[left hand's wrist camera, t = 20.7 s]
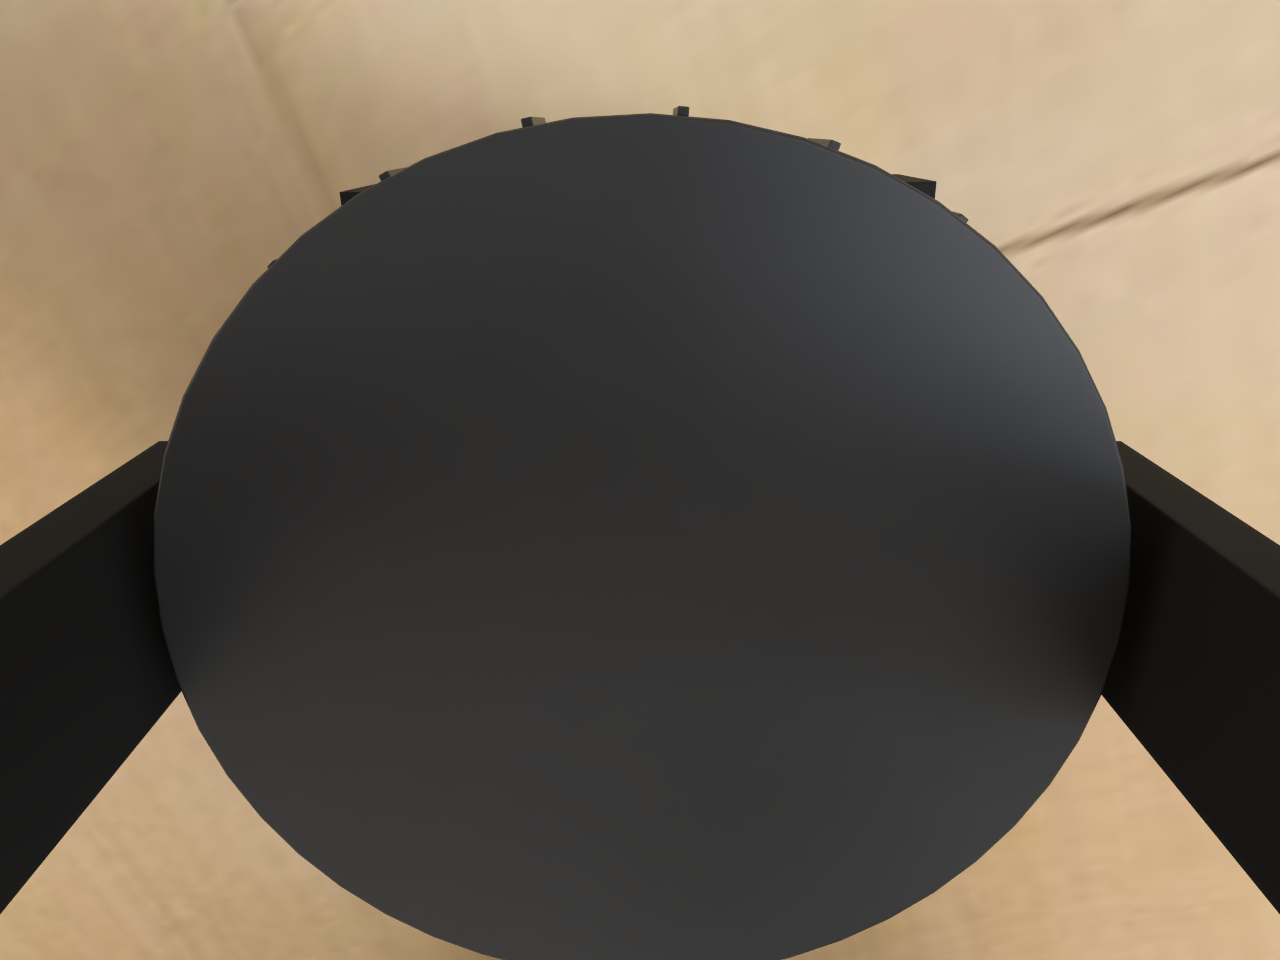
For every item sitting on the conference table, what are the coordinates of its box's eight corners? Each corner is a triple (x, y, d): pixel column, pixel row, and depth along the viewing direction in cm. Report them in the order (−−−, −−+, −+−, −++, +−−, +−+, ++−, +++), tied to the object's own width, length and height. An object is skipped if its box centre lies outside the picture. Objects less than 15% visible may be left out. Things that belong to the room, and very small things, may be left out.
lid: (182, 789, 13) (113, 887, 12) (274, -27, 9) (191, -62, 8) (875, 937, 14) (907, 1047, 13) (1224, 266, 10) (1339, 295, 9)
